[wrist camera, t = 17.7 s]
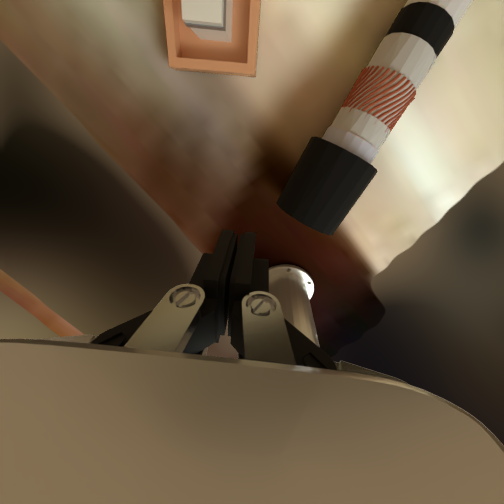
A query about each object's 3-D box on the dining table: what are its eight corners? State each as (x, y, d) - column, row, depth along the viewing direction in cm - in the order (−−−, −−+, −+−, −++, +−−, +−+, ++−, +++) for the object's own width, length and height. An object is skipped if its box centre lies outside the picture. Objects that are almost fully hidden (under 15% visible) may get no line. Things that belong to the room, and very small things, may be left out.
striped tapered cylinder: (454, -27, 28) (568, -61, 20) (307, 211, 41) (345, 240, 34) (425, -115, 22) (569, -206, 15) (265, 194, 35) (300, 225, 28)
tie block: (232, 43, 29) (222, 25, 23) (199, 40, 29) (181, 20, 23) (233, -4, 26) (223, -39, 20) (198, -8, 26) (177, -44, 20)
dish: (255, 77, 31) (254, 74, 28) (176, 70, 31) (169, 66, 29) (264, -48, 25) (263, -64, 23) (166, -56, 25) (156, -72, 23)
